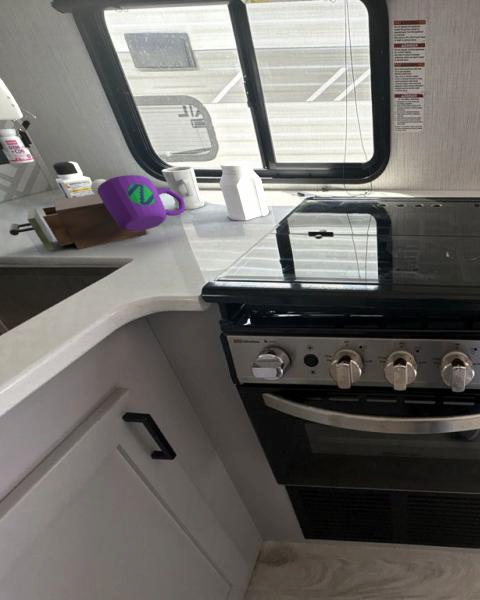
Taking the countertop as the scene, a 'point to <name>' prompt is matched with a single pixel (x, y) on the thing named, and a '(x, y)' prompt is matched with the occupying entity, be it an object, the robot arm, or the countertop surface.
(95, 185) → the light bulb
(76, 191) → the container
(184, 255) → the countertop surface
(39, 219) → the drawer
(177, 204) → the cup
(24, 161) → the pill bottle
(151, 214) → the mug
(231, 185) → the jar
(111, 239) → the cabinet
